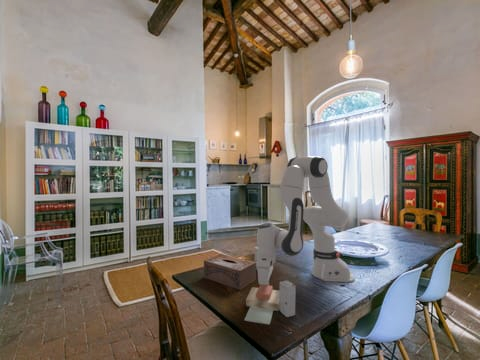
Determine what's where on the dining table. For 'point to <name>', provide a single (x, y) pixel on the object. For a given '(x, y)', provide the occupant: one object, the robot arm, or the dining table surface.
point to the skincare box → (287, 298)
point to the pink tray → (264, 292)
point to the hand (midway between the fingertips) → (266, 286)
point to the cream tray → (263, 300)
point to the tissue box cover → (230, 271)
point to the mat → (259, 315)
